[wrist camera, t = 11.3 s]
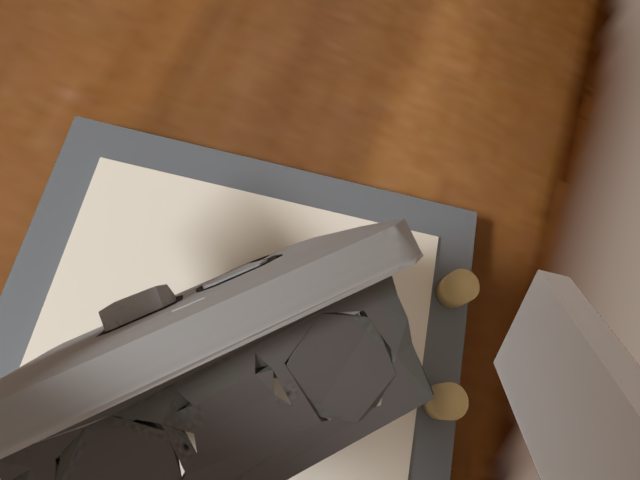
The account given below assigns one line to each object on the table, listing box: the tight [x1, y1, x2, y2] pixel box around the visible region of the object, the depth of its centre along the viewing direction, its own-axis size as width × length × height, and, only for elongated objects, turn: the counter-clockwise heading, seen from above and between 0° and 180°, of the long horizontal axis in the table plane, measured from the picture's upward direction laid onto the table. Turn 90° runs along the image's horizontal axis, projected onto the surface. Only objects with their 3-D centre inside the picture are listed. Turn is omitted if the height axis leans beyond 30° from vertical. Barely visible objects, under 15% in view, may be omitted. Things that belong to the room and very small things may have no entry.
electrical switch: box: [0, 218, 434, 480], centre depth 13 cm, size 9×5×9 cm, turn 116°
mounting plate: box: [0, 116, 480, 480], centre depth 18 cm, size 15×16×3 cm
